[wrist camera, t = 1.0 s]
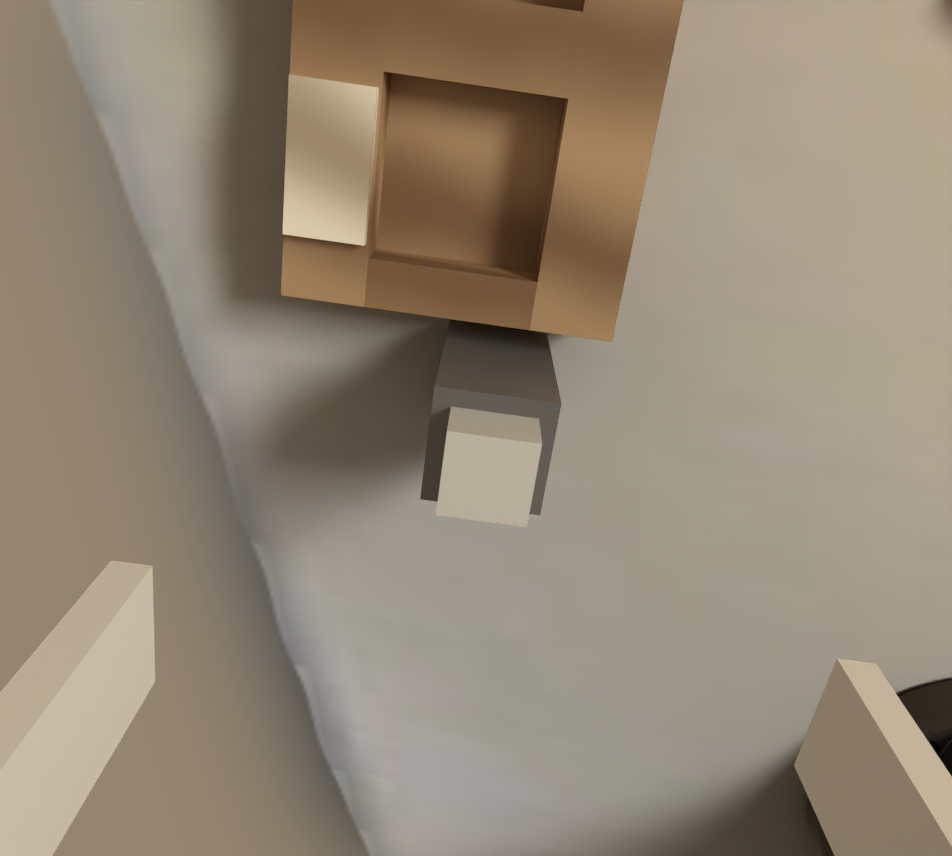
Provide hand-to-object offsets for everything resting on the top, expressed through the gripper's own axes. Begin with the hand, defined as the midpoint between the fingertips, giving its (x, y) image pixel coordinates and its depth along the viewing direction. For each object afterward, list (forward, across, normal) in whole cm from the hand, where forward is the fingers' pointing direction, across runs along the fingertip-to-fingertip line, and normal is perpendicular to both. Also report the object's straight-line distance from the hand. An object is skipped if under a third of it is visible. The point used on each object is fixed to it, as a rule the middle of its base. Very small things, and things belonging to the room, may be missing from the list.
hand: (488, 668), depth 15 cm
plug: (+19, 0, 0) cm, 19 cm away
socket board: (+19, +2, -12) cm, 22 cm away
